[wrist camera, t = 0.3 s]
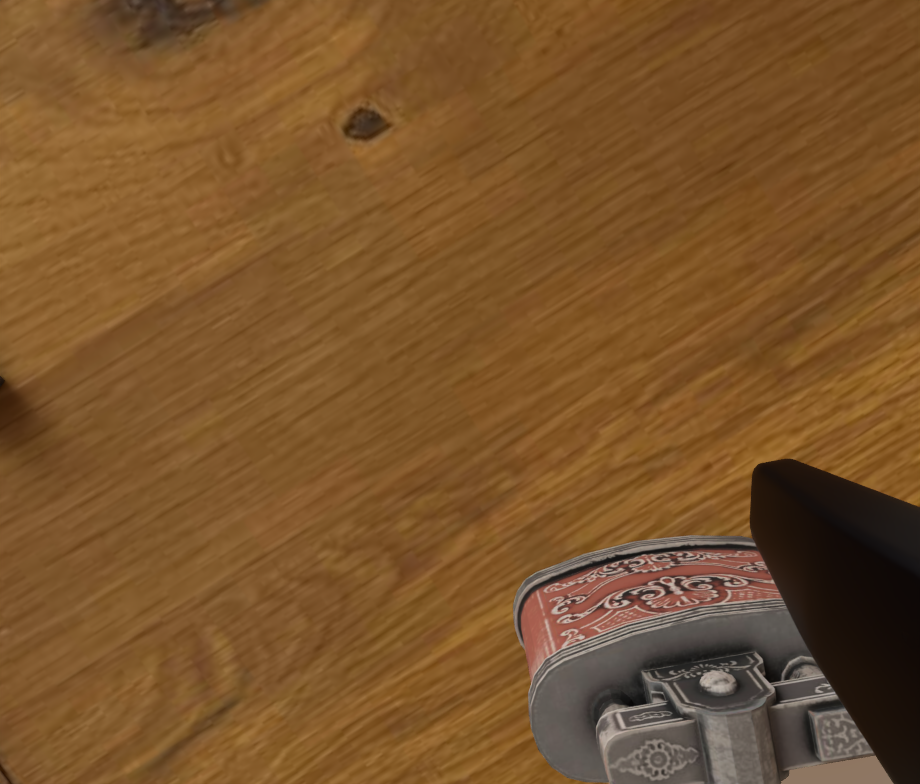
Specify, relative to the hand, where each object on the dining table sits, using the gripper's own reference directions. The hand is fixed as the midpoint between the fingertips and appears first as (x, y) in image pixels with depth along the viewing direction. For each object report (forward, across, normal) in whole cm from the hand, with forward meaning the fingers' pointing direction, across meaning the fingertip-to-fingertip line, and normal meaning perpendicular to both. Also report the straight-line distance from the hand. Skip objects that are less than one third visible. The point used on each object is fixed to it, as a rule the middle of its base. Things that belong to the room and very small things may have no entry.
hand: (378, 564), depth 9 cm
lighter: (+11, -7, +11) cm, 17 cm away
